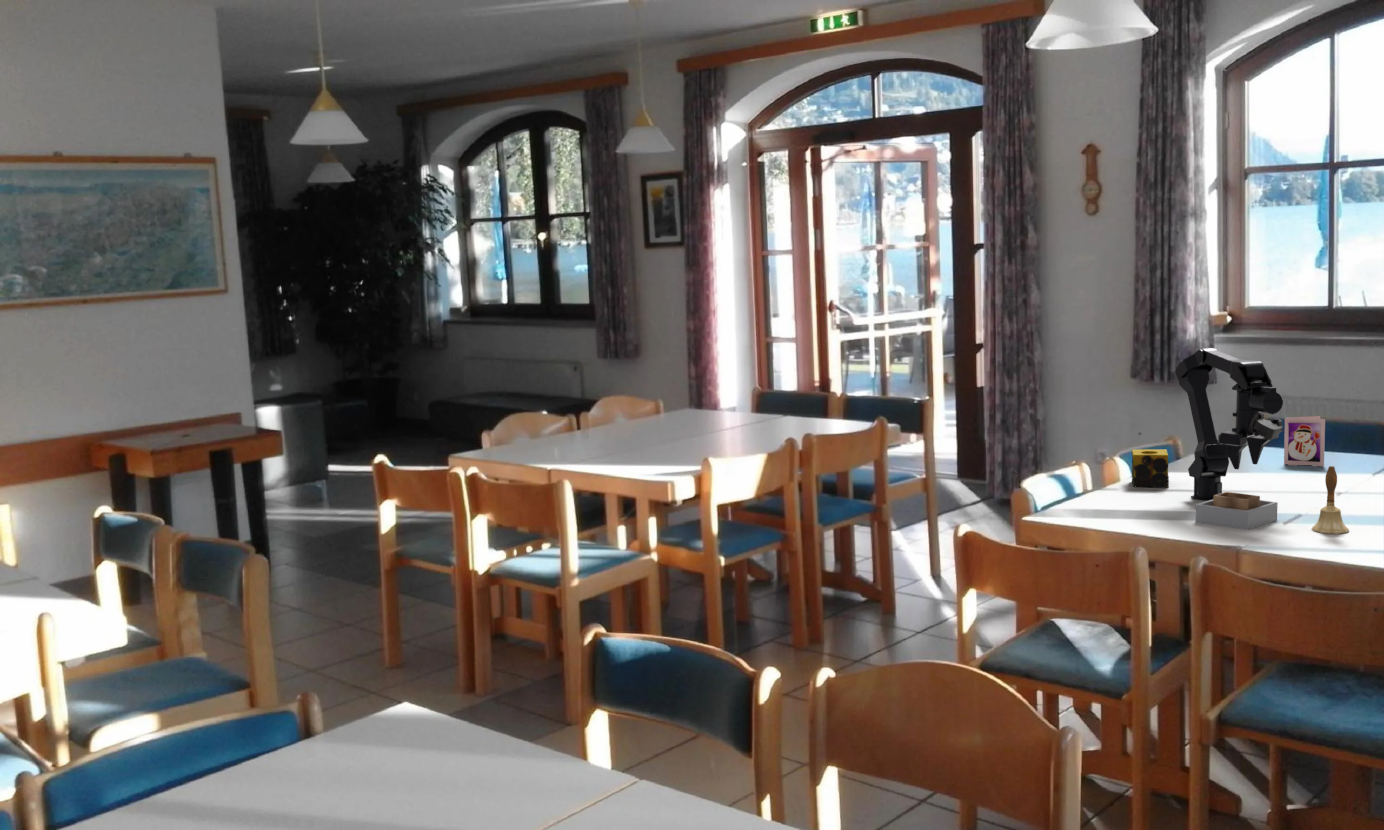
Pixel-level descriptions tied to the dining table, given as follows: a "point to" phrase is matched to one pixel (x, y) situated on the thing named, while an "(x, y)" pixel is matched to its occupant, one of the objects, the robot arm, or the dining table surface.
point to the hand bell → (1330, 509)
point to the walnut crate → (1236, 501)
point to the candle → (1150, 468)
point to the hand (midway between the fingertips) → (1245, 466)
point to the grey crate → (1236, 515)
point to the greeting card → (1304, 441)
